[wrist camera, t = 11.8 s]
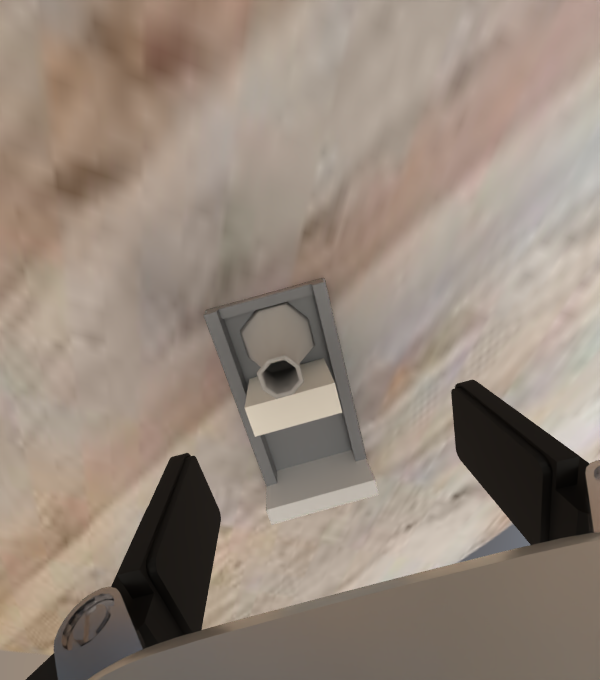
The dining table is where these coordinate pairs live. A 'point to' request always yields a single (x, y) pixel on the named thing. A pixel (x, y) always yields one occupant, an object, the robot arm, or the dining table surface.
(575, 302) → the dining table surface
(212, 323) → the grey rectangular tray
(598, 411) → the dining table surface
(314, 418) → the pusher
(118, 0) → the dining table surface
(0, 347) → the dining table surface
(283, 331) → the flask
